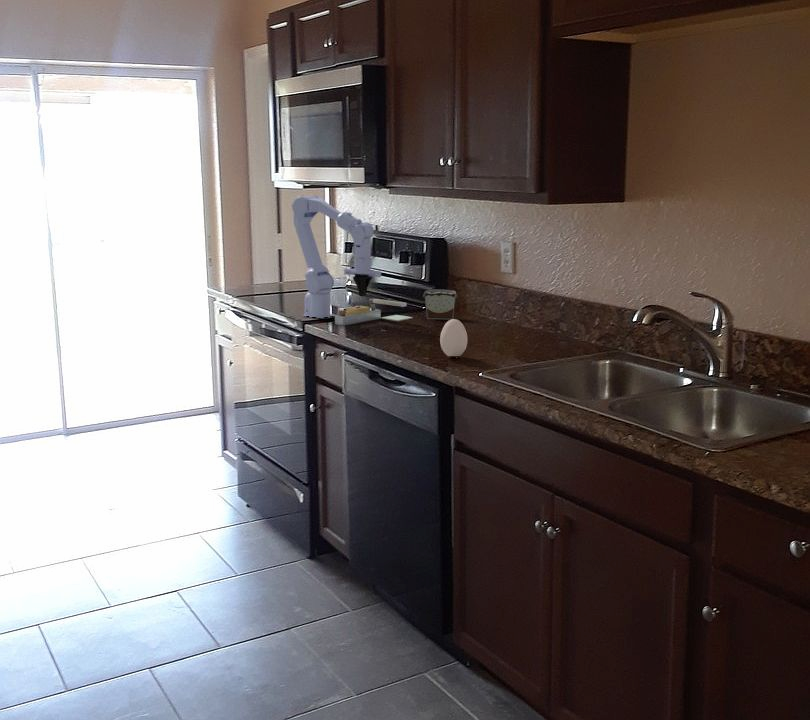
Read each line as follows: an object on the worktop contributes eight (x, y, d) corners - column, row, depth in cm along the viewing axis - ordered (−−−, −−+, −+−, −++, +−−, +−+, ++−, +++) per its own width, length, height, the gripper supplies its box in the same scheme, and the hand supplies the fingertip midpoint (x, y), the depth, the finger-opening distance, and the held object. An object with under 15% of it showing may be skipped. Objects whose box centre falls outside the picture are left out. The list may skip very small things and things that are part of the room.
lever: (402, 306, 317) (402, 303, 317) (368, 302, 327) (367, 299, 327) (407, 306, 319) (407, 302, 319) (372, 301, 329) (372, 298, 329)
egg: (450, 353, 270) (451, 315, 268) (472, 357, 266) (473, 318, 263) (434, 357, 264) (434, 319, 262) (456, 361, 259) (457, 322, 257)
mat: (381, 318, 328) (381, 317, 328) (396, 315, 334) (396, 314, 334) (397, 321, 323) (397, 320, 323) (412, 318, 329) (412, 317, 329)
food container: (457, 316, 333) (458, 289, 331) (456, 319, 327) (457, 292, 325) (424, 316, 334) (424, 289, 332) (423, 318, 328) (423, 291, 326)
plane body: (335, 324, 318) (334, 307, 316) (372, 317, 331) (372, 301, 330) (343, 325, 315) (342, 308, 314) (380, 318, 329) (380, 302, 327)
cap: (346, 312, 322) (346, 306, 321) (360, 310, 327) (360, 304, 326) (356, 314, 318) (356, 308, 318) (370, 312, 323) (369, 305, 323)
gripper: (385, 257, 318) (385, 296, 321) (352, 255, 325) (352, 292, 328) (374, 259, 312) (374, 298, 315) (340, 257, 319) (340, 295, 322)
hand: (362, 295), depth 321 cm, fingers closed
